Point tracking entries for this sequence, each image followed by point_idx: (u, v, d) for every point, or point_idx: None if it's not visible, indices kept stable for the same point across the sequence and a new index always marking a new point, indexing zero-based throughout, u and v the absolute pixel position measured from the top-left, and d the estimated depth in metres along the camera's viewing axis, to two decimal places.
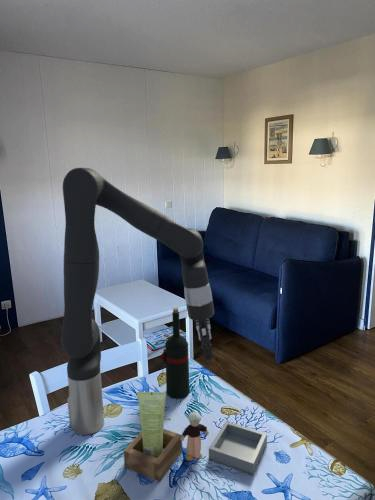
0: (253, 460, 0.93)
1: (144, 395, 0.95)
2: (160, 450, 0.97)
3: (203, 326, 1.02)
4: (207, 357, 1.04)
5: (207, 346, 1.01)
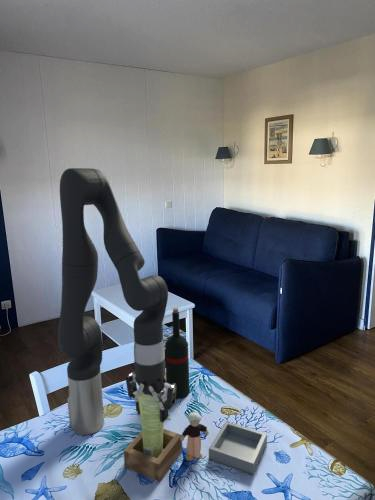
0: (253, 460, 0.93)
1: (144, 395, 0.95)
2: (160, 450, 0.97)
3: (134, 375, 0.96)
4: None
5: None
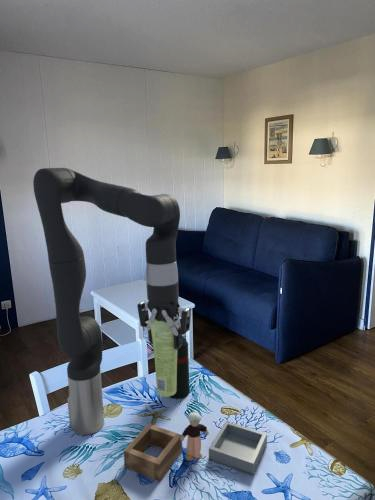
0: (253, 460, 0.93)
1: (157, 322, 0.91)
2: (174, 381, 0.93)
3: (146, 302, 0.93)
4: None
5: None
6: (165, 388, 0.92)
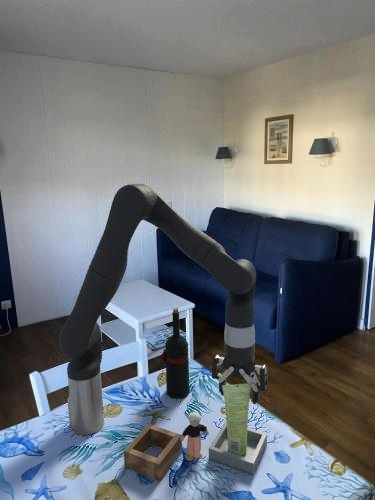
0: (253, 460, 0.93)
1: (230, 388, 0.96)
2: (246, 440, 0.99)
3: (221, 358, 0.97)
4: None
5: None
6: (238, 448, 0.98)
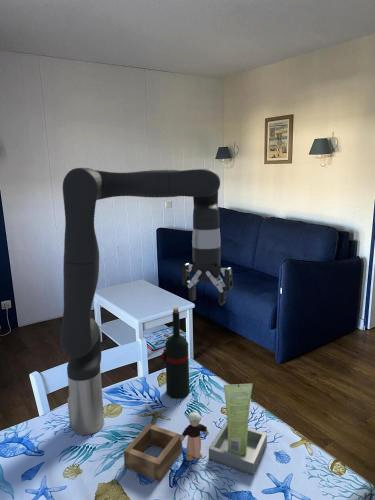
0: (253, 460, 0.93)
1: (231, 388, 0.96)
2: (246, 440, 0.99)
3: (190, 265, 1.04)
4: None
5: None
6: (238, 448, 0.98)
